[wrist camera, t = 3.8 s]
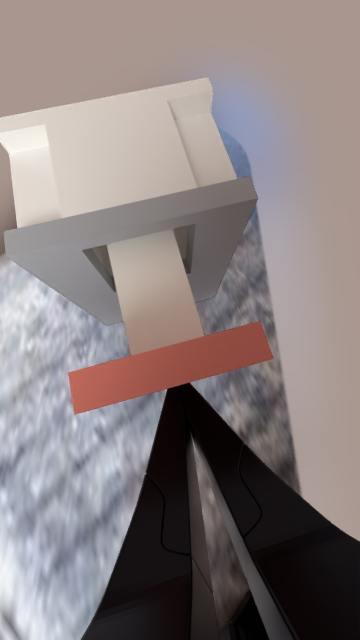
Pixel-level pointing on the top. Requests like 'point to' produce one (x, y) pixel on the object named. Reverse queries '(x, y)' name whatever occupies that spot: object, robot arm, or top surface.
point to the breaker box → (123, 190)
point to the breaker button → (161, 330)
